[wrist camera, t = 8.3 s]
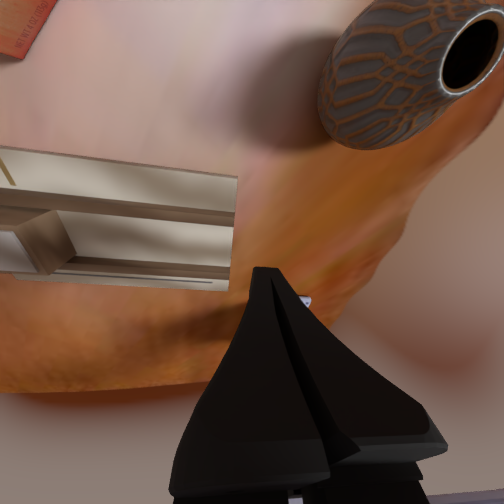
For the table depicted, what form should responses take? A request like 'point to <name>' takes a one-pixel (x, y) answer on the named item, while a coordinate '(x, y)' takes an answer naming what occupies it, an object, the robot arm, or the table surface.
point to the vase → (406, 67)
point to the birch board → (128, 218)
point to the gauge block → (32, 241)
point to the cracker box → (21, 24)
